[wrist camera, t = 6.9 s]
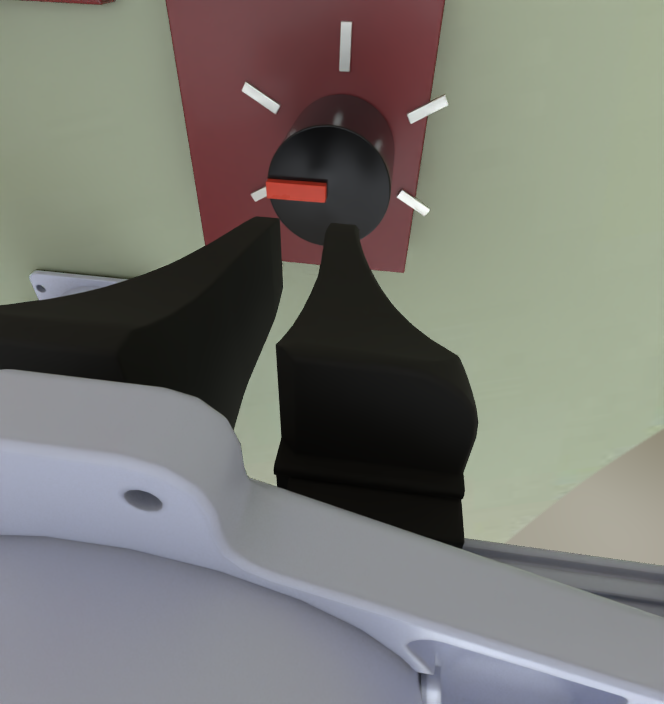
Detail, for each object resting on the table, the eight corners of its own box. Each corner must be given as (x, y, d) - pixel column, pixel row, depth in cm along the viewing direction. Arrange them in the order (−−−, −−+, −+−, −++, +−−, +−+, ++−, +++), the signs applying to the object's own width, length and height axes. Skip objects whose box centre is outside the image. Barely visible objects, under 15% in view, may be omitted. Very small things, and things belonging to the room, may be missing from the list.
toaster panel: (418, 246, 23) (418, 276, 21) (223, 228, 24) (204, 256, 22) (461, -16, 16) (468, -8, 14) (190, -29, 17) (158, -23, 15)
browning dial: (400, 97, 17) (397, 132, 14) (388, 207, 19) (384, 256, 16) (286, 90, 17) (259, 123, 14) (290, 199, 20) (268, 246, 17)
